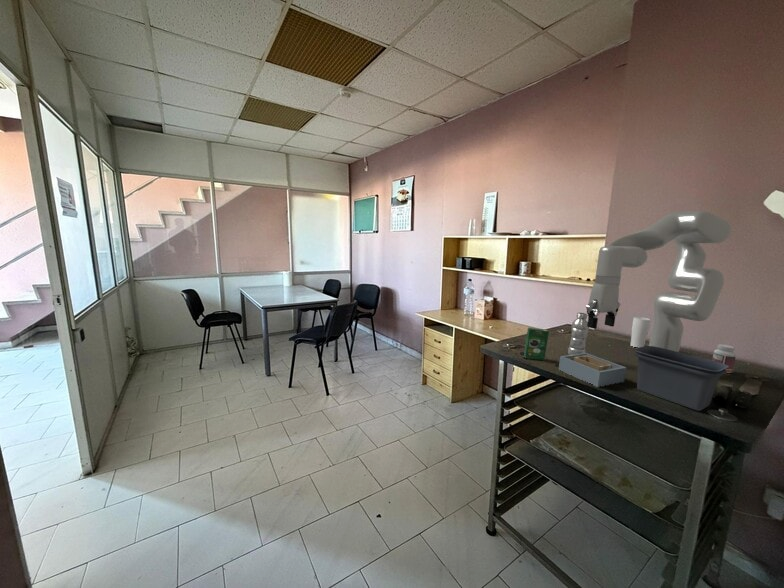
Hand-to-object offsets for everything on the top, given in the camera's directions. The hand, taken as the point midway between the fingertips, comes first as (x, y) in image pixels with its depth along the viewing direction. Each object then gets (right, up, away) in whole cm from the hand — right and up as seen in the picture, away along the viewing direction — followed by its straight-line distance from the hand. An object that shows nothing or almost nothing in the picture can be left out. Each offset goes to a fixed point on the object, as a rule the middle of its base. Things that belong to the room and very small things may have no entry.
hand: (600, 326), depth 116 cm
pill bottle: (+58, -20, +13) cm, 63 cm away
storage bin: (+16, -22, -12) cm, 30 cm away
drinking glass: (+45, -15, +41) cm, 63 cm away
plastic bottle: (+3, -16, +21) cm, 26 cm away
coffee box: (-17, -16, +18) cm, 29 cm away
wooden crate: (-2, -18, +2) cm, 18 cm away
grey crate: (-2, -19, +2) cm, 19 cm away
